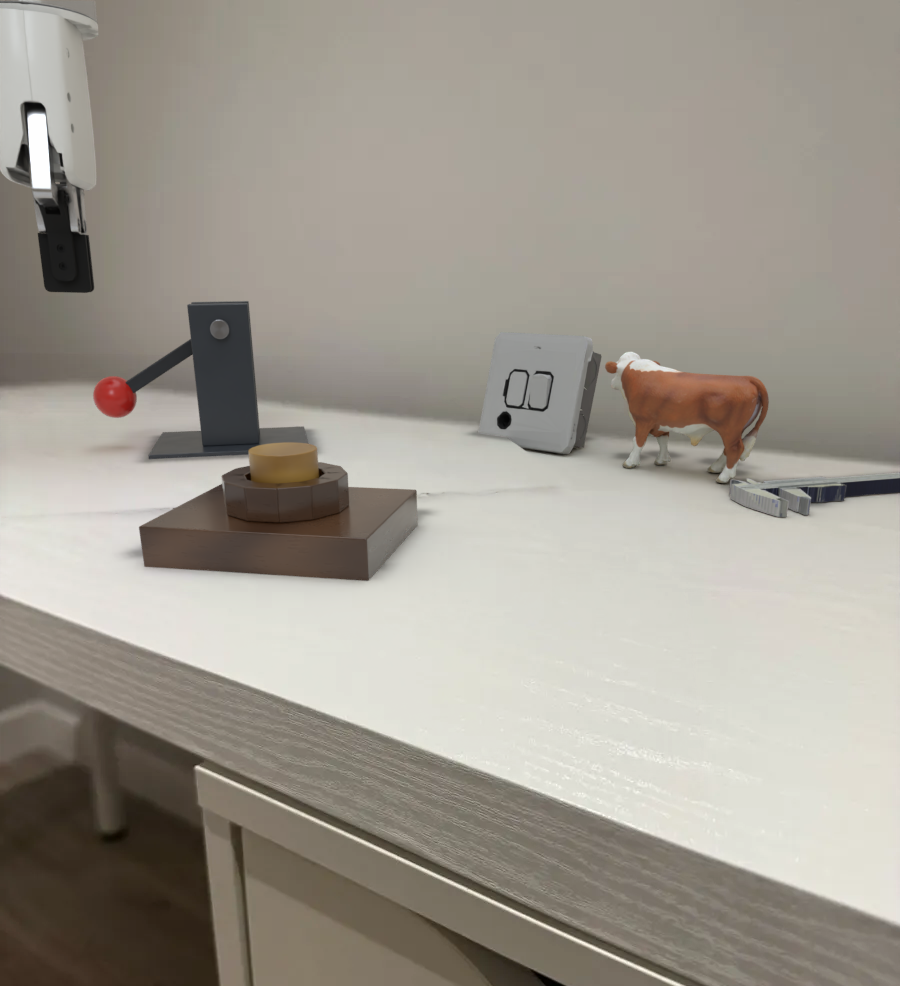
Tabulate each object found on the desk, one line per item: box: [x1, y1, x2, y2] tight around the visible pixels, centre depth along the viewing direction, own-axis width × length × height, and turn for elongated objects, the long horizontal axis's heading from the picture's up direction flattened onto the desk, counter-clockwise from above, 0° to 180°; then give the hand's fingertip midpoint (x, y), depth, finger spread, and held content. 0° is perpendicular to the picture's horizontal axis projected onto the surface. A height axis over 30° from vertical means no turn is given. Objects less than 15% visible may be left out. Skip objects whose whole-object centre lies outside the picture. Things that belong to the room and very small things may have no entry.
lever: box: [92, 338, 193, 419], centre depth 69 cm, size 13×3×3 cm, turn 102°
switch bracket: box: [148, 300, 309, 460], centre depth 70 cm, size 12×10×12 cm
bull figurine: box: [604, 351, 770, 484], centre depth 64 cm, size 4×13×8 cm, turn 41°
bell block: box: [138, 461, 418, 582], centre depth 48 cm, size 12×10×4 cm
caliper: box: [728, 472, 900, 518], centre depth 59 cm, size 20×1×6 cm
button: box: [248, 442, 319, 483], centre depth 47 cm, size 4×4×2 cm
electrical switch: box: [477, 331, 602, 455], centre depth 73 cm, size 9×5×9 cm, turn 49°
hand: (70, 291), depth 66 cm, fingers closed
